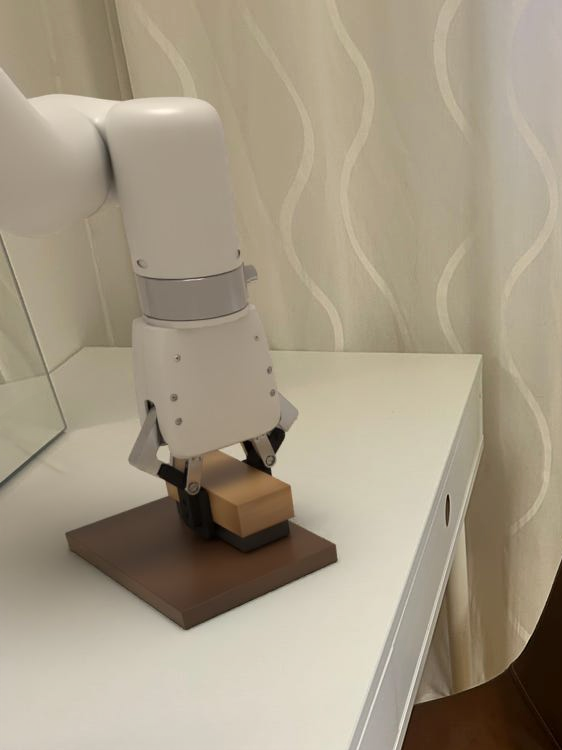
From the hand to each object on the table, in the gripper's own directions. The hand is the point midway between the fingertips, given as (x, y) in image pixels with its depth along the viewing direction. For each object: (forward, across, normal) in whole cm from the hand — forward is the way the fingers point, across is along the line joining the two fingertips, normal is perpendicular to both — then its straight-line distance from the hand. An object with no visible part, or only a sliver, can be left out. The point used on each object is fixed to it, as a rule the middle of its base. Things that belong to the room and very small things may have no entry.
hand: (232, 518), depth 80 cm
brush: (+1, 0, 0) cm, 1 cm away
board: (+2, +3, 0) cm, 4 cm away
